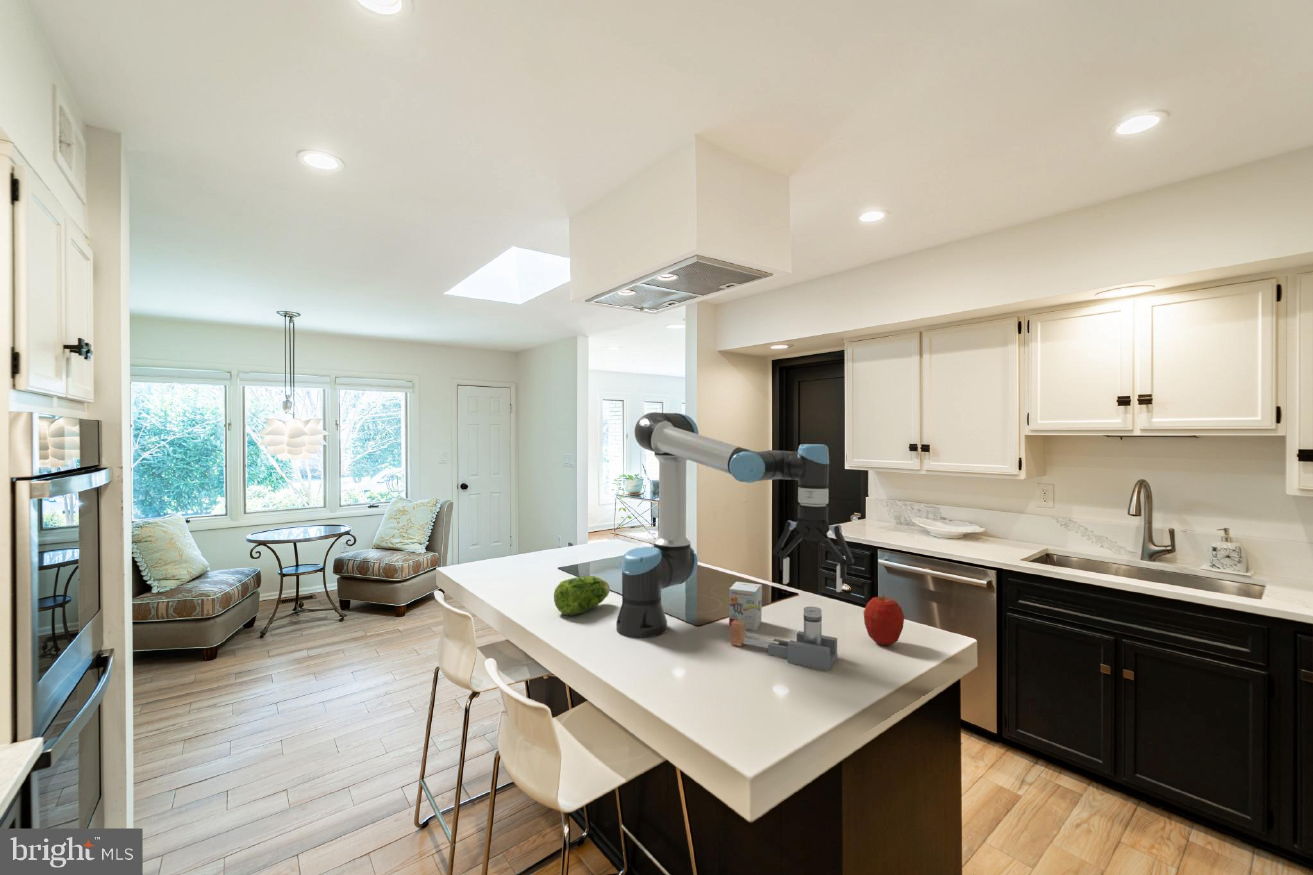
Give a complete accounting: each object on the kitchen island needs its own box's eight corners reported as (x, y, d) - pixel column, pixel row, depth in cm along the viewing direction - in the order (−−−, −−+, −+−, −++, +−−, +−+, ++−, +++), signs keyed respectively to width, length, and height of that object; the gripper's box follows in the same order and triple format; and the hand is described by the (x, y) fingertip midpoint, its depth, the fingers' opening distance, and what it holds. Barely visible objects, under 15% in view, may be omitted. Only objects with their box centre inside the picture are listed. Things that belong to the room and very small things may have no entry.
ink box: (728, 626, 168) (728, 587, 168) (735, 618, 176) (735, 580, 176) (756, 630, 164) (756, 590, 164) (762, 621, 172) (762, 583, 172)
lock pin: (730, 644, 152) (730, 622, 152) (735, 641, 155) (735, 619, 155) (776, 653, 146) (776, 631, 146) (780, 650, 148) (780, 627, 148)
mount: (765, 657, 144) (765, 638, 144) (777, 645, 152) (777, 627, 152) (827, 670, 136) (827, 650, 136) (837, 657, 144) (837, 637, 144)
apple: (860, 646, 152) (860, 595, 152) (867, 634, 161) (867, 586, 160) (901, 653, 147) (901, 601, 147) (906, 641, 155) (906, 592, 155)
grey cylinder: (801, 660, 142) (801, 610, 142) (806, 655, 146) (806, 605, 146) (819, 664, 140) (819, 612, 140) (823, 658, 143) (823, 608, 143)
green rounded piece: (618, 605, 188) (618, 572, 188) (573, 621, 172) (573, 585, 172) (594, 599, 195) (594, 567, 195) (549, 614, 179) (549, 579, 179)
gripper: (761, 502, 146) (760, 582, 146) (861, 509, 133) (859, 598, 133) (770, 499, 152) (769, 576, 152) (866, 506, 139) (865, 590, 140)
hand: (811, 586), depth 143 cm, fingers open, 13 cm apart
